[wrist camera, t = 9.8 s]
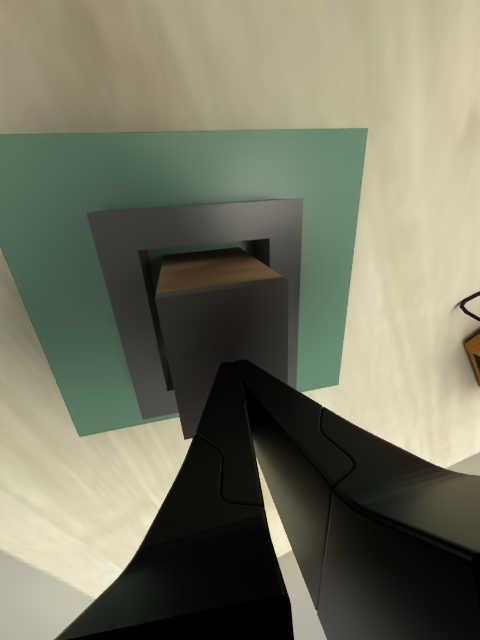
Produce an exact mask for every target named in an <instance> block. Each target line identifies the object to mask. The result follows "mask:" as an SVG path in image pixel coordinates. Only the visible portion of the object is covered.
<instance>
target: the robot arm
mask: <svg viewBox="0 0 480 640" xmlns="http://www.w3.org/2000/svg"><path fill="white" fill-rule="evenodd" d="M256 457H257V460H258V462H259V465H260V468H261V470H262V473H263V475H264V478H265V481H266V483H267V486H268V488H269V491H270V493H271V496H272V499H273V501H274V504H275V506H276V509H277V511H278V514H279V517H280V519H281V522H282V524H283V527H284V529H285V532H286V535H287V537H288V540H289V542H290V545H291V547H292V550H293V553H294V555H295V557H296V560H297V563H298V565H299V568H300V570H301V573H302V576H303V578H304V581H305V583H306V586H307V588H308V591H309V593H310V596H311V599H312V601H313V604H314V607H315V609H316V610H317V615H318V617H319V620H320V622H321V625H322V627H323V630H324V633H325V635H326V637H327V640H480V476H477V475H468V474H463V473H457V472H454V471H451V470H447V469H444V468H442V467H439V466H436V465H434V464H432V463H430V462H428V461H426V460H424V459H422V458H420V457H418V456H416V455H414V454H412V453H410V452H408V451H406V450H404V449H402V448H400V447H398V446H396V445H394V444H392V443H390V442H388V441H386V440H383V439H381V438H379V437H377V436H375V435H373V434H372V433H370V432H368V431H366V430H364V429H362V428H360V427H358V426H356V425H354V424H352V423H351V422H349V421H347V420H346V419H344V418H342V417H340V416H339V415H337V414H335V413H334V412H332V411H330V410H329V409H327V408H325V407H322V405H320V404H319V403H317V402H315V401H314V400H312V399H310V398H309V397H307V396H306V395H304V394H302V393H301V392H299V391H297V390H296V389H294V388H292V387H291V386H289V385H287V384H286V383H284V382H283V381H281V380H279V379H278V378H276V377H274V376H273V375H271V374H269V373H268V372H266V371H265V370H263V369H261V368H260V367H258V366H256V365H255V364H253V363H251V362H250V361H248V360H246V359H242V360H236V361H234V363H233V362H225V363H221V364H220V366H219V368H218V371H217V374H216V377H215V379H214V382H213V385H212V388H211V390H210V393H209V396H208V399H207V401H206V404H205V407H204V410H203V412H202V415H201V418H200V421H199V423H198V426H197V429H196V432H195V435H194V437H193V439H192V442H191V445H190V448H189V450H188V452H187V455H186V457H185V460H184V462H183V464H182V467H181V469H180V471H179V473H178V475H177V477H176V479H175V481H174V483H173V485H172V487H171V489H170V490H169V492H168V494H167V496H166V498H165V500H164V502H163V504H162V506H161V507H160V509H159V511H158V513H157V515H156V517H155V519H154V521H153V523H152V525H151V526H150V528H149V530H148V532H147V534H146V536H145V538H144V540H143V541H142V543H141V545H140V547H139V549H138V550H137V552H136V554H135V555H134V557H133V558H132V560H131V561H130V563H129V564H128V565H127V567H126V568H125V570H124V571H123V572H122V573H121V574H120V576H119V577H118V578H117V579H116V580H115V581H114V582H113V583H112V584H111V585H110V586H109V587H108V588H107V589H106V590H105V591H104V592H103V593H102V594H101V595H100V596H99V597H98V598H97V599H96V600H95V601H94V602H93V603H92V604H91V605H90V606H88V607H87V608H86V609H85V610H84V612H82V613H81V614H80V615H79V616H78V617H77V618H76V619H75V620H74V621H73V622H72V623H71V624H70V625H69V626H68V627H67V628H66V629H65V630H64V631H63V632H62V633H61V634H60V635H58V636H57V637H56V639H54V640H294V634H293V623H292V611H291V603H290V599H289V596H288V593H287V589H286V586H285V583H284V580H283V576H282V573H281V570H280V567H279V563H278V560H277V557H276V554H275V550H274V547H273V544H272V540H271V536H270V532H269V527H268V523H267V517H266V512H265V507H264V500H263V495H262V489H261V483H260V478H259V472H258V466H257V461H256Z"/></svg>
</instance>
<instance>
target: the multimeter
mask: <svg viewBox="0 0 480 640" xmlns="http://www.w3.org/2000/svg"><path fill="white" fill-rule="evenodd" d="M477 296H480V292H478V293H476V294H474V295H472V296H470V297H468V298H466V299H464V300H463V301H462V303H461V305H460V306H459V307H460V308H461V309H462V310H463V312H464V313H466V314H467V315H469V316H471V317H472V318H474V319H476V320H478V321H480V318H479V317H478V316H476V315H474V314H472V313H471V312H469V311H468V310H467V309H466V308H465V307H464V305H465V303H466V302H468V301H470V300H471V299H473V298H475V297H477ZM465 346H466V350H467V351H468V352H469V355H470V357H471V360H472V363H473V366H474V369H475V371H476V374H477V377H478V383H479V385H480V333H479V334H477V335H476V336H475V337H473V338H472V339H471V340H469V341H468V342H467V343H465Z"/></svg>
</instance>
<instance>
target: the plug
mask: <svg viewBox="0 0 480 640" xmlns="http://www.w3.org/2000/svg"><path fill="white" fill-rule="evenodd" d="M288 284H289V281H288V280H286V279H285V278H284V277H282V276H281V275H279V274H278V273H276V272H275V271H273V270H272V269H271V268H269V267H268V266H266V265H265V264H263V263H262V262H260V261H259V260H257V259H256V258H255V257H253V256H252V255H250V254H249V253H247V252H246V251H244V250H243V249H242V248H240V247H234V248H225V249H216V250H206V251H197V252H187V253H178V254H168V255H163V260H162V265H161V270H160V275H159V280H158V285H157V290H156V295H155V302H156V306H157V311H158V316H159V321H160V325H161V330H162V335H163V340H164V345H165V349H166V354H167V359H168V364H169V368H170V373H171V378H172V383H173V387H174V392H175V397H176V402H177V407H178V411H179V416H180V421H181V426H182V430H183V435H184V440H186V439H190V438H193V437H194V435H195V432H196V429H197V426H198V423H199V421H200V418H201V415H202V412H203V410H204V407H205V404H206V401H207V399H208V396H209V393H210V390H211V388H212V385H213V382H214V379H215V377H216V374H217V371H218V368H219V366H220V364H221V363H225V362H233V363H234V361H236V360H242V359H246V360H248V361H250V362H251V363H253V364H255V365H256V366H258V367H260V368H261V369H263V370H265V371H266V372H268V373H269V374H271V375H273V376H274V377H276V378H278V379H279V380H281V381H283V382H284V383H286V384H287V385H288Z"/></svg>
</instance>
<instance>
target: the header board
mask: <svg viewBox="0 0 480 640" xmlns="http://www.w3.org/2000/svg"><path fill="white" fill-rule="evenodd" d="M367 131H368V128H354V129H297V130H240V131H182V132H125V133H68V134H10V135H0V247H1V249H2V252H3V254H4V256H5V259H6V261H7V264H8V266H9V269H10V271H11V273H12V276H13V278H14V281H15V283H16V285H17V288H18V290H19V293H20V295H21V298H22V300H23V302H24V305H25V307H26V310H27V312H28V314H29V317H30V319H31V322H32V324H33V326H34V329H35V331H36V334H37V336H38V339H39V341H40V343H41V346H42V348H43V351H44V353H45V355H46V358H47V360H48V363H49V365H50V367H51V370H52V372H53V375H54V377H55V380H56V382H57V384H58V387H59V389H60V392H61V394H62V396H63V399H64V401H65V404H66V406H67V408H68V411H69V413H70V416H71V418H72V421H73V423H74V425H75V428H76V430H77V433H78V435H79V437H82V436H87V435H92V434H97V433H102V432H107V431H112V430H116V429H121V428H126V427H131V426H136V425H141V424H146V423H151V422H156V421H161V420H166V419H171V418H176V417H180V416H179V411H178V407H177V402H176V397H175V392H174V387H173V383H172V378H171V373H170V368H169V364H168V359H167V354H166V349H165V345H164V340H163V335H162V330H161V325H160V321H159V316H158V311H157V306H156V302H155V295H156V290H157V285H158V280H159V275H160V270H161V265H162V260H163V255H168V254H178V253H187V252H197V251H206V250H216V249H225V248H234V247H240V248H242V249H243V250H244V251H246V252H247V253H249V254H250V255H252V256H253V257H255V258H256V259H257V260H259V261H260V262H262V263H263V264H265V265H266V266H268V267H269V268H271V269H272V270H273V271H275V272H276V273H278V274H279V275H281V276H282V277H284V278H285V279H286V280H288V281H289V284H288V385H289V386H291V387H292V388H294V389H296V390H297V391H299V392H305V391H310V390H315V389H320V388H325V387H330V386H335V385H338V383H339V374H340V366H341V357H342V348H343V340H344V331H345V322H346V314H347V305H348V296H349V288H350V279H351V270H352V262H353V253H354V244H355V235H356V227H357V218H358V209H359V201H360V192H361V183H362V175H363V166H364V157H365V149H366V140H367Z"/></svg>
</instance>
